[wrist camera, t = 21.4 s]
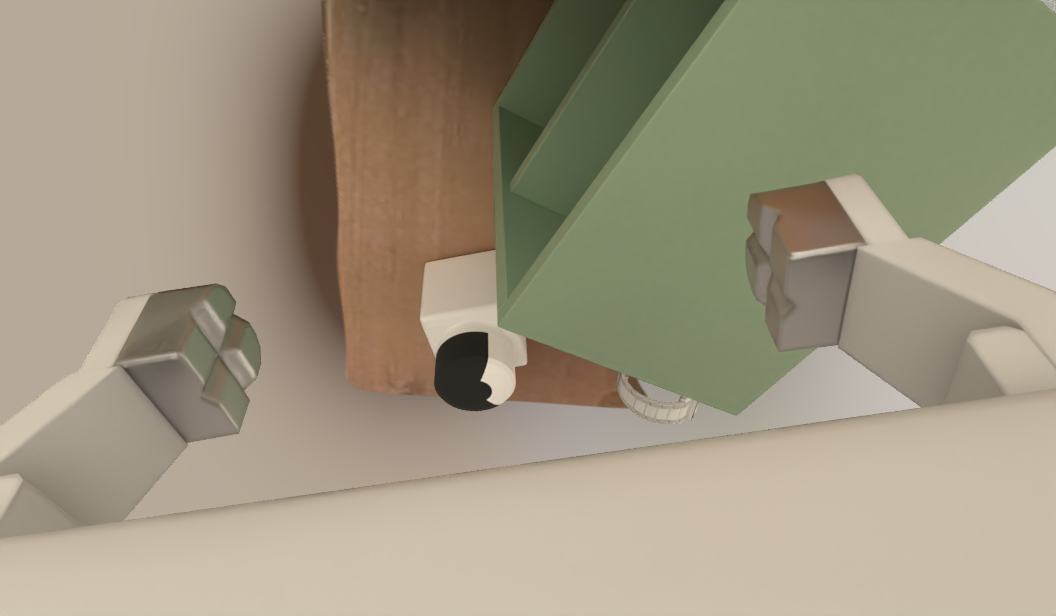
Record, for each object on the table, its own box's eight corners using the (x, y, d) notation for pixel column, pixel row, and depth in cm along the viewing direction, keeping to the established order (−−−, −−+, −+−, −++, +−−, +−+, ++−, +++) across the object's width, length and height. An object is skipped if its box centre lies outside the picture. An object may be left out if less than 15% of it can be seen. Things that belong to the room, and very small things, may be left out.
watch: (684, 342, 66) (713, 436, 58) (601, 340, 65) (619, 435, 57) (699, 298, 62) (732, 392, 54) (610, 296, 61) (630, 391, 53)
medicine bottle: (446, 321, 62) (441, 428, 53) (423, 260, 57) (413, 367, 49) (524, 307, 62) (531, 413, 53) (507, 245, 57) (512, 350, 48)
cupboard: (491, 110, 49) (496, 327, 33) (688, -234, 36) (855, -158, 20) (660, 194, 54) (736, 416, 38) (881, -78, 42) (1134, 80, 26)
